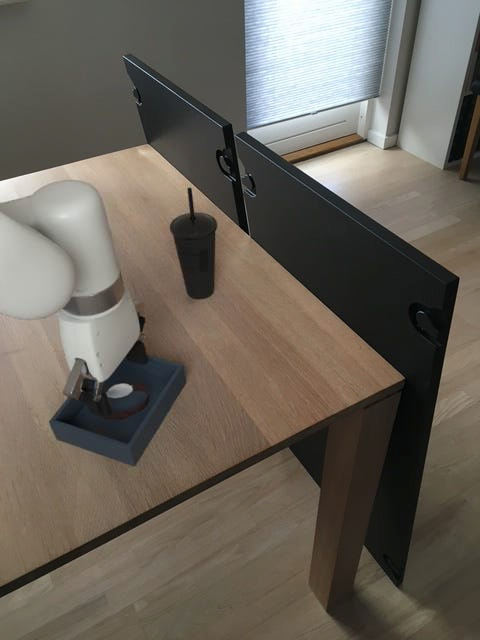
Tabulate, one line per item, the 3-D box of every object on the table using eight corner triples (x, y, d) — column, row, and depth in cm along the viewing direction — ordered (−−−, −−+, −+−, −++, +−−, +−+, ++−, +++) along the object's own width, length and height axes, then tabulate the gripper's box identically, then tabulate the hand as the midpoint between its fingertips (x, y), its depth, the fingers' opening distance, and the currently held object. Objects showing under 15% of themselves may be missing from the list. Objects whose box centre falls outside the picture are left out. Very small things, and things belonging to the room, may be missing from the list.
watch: (147, 389, 78) (143, 372, 76) (153, 413, 75) (149, 396, 72) (94, 402, 77) (88, 386, 74) (98, 428, 73) (92, 411, 71)
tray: (134, 466, 69) (129, 449, 66) (56, 439, 73) (48, 421, 70) (186, 382, 79) (183, 364, 77) (115, 362, 83) (110, 344, 80)
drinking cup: (228, 281, 97) (221, 180, 84) (212, 308, 92) (203, 204, 78) (189, 274, 99) (176, 174, 86) (172, 300, 94) (155, 197, 80)
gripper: (103, 241, 68) (128, 337, 80) (14, 330, 57) (59, 428, 68) (155, 252, 66) (173, 349, 78) (74, 347, 55) (109, 444, 66)
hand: (120, 386), depth 73 cm, fingers open, 9 cm apart
